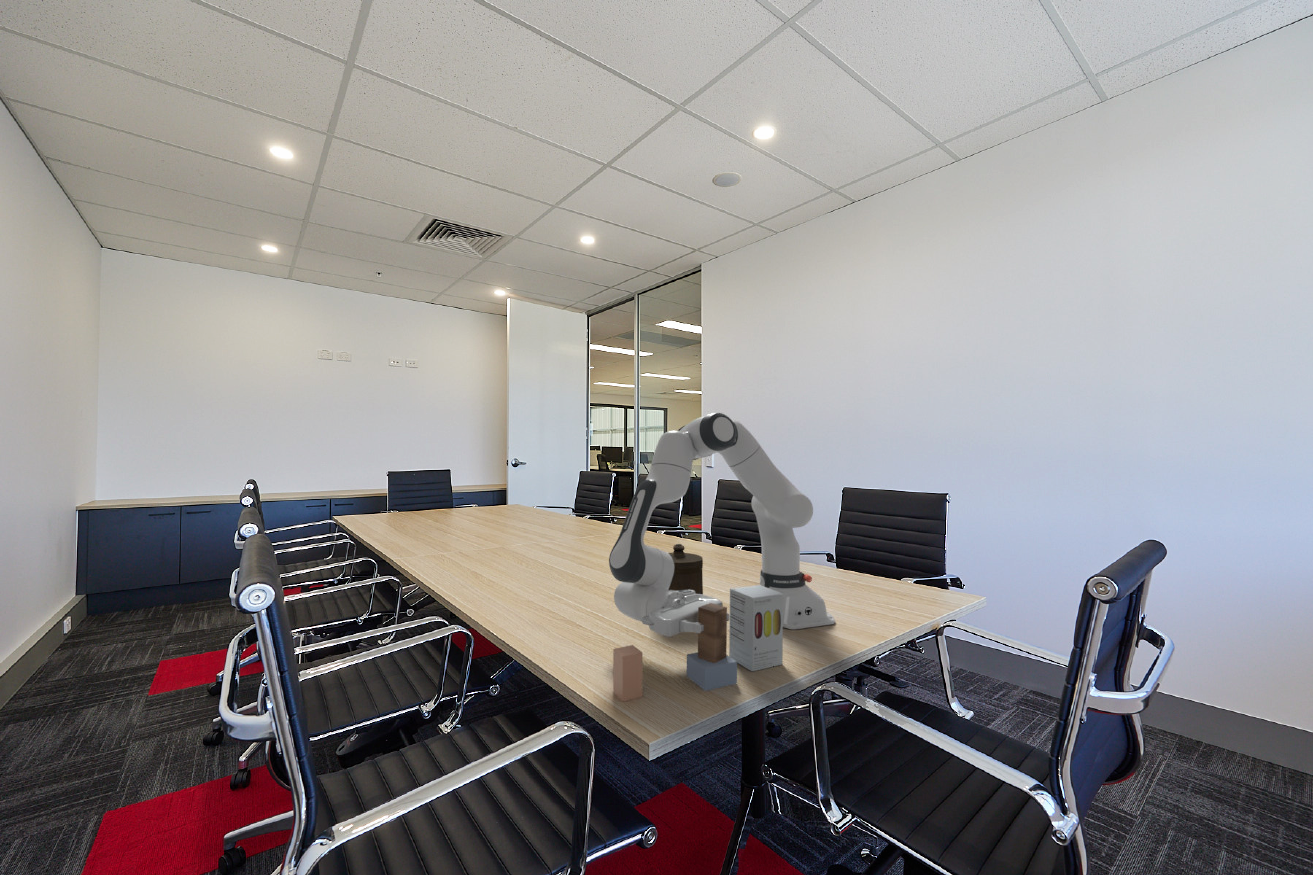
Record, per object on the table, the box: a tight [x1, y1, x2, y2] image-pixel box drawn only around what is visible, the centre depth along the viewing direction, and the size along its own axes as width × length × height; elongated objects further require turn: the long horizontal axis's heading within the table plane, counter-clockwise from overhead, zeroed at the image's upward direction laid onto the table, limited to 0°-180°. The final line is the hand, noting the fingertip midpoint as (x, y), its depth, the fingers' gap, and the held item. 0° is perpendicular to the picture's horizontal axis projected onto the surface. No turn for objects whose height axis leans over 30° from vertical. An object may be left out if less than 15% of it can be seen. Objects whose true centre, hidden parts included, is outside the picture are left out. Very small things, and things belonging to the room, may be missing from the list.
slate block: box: [686, 651, 738, 692], centre depth 113 cm, size 8×8×5 cm
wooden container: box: [668, 543, 704, 595], centre depth 155 cm, size 15×15×22 cm
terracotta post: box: [612, 644, 643, 702], centre depth 106 cm, size 4×4×9 cm
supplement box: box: [728, 584, 784, 672], centre depth 123 cm, size 10×9×17 cm
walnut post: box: [697, 603, 728, 663], centre depth 114 cm, size 4×4×11 cm
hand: (715, 623), depth 113 cm, fingers open, 8 cm apart
